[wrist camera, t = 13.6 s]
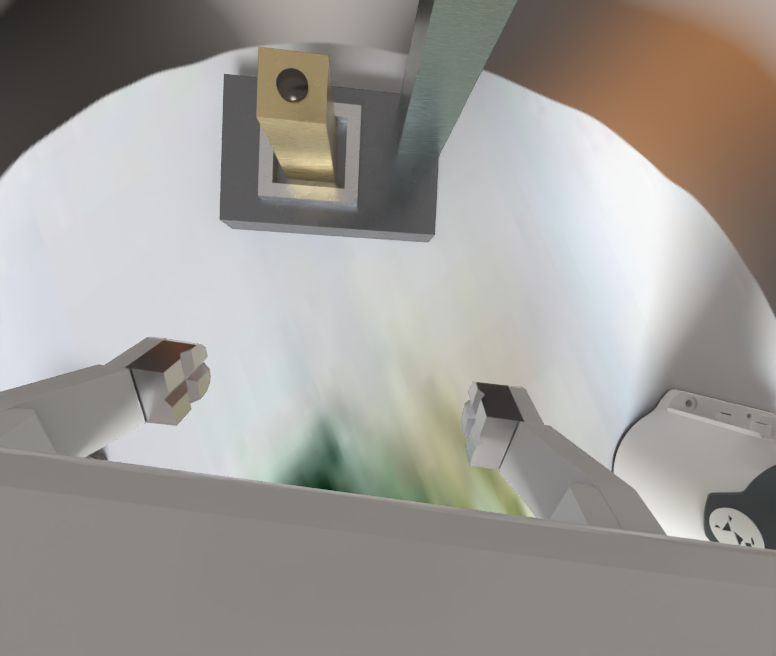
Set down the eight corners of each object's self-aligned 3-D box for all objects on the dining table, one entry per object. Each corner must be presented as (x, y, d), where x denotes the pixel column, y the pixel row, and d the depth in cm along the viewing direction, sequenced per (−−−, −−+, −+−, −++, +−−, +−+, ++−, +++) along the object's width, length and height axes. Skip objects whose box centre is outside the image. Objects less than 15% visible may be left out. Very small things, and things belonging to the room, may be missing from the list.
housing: (337, 134, 30) (328, 53, 20) (335, 182, 30) (325, 122, 21) (288, 129, 29) (257, 44, 20) (287, 178, 29) (255, 115, 20)
